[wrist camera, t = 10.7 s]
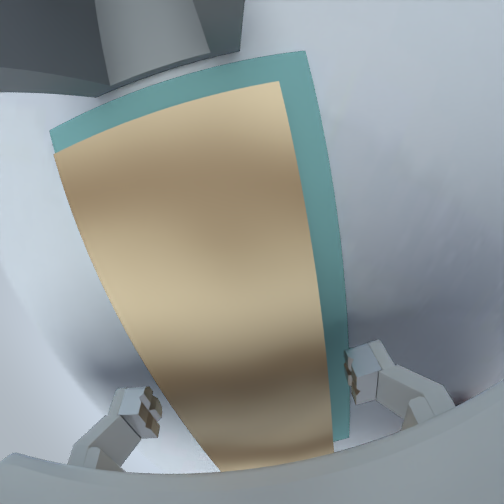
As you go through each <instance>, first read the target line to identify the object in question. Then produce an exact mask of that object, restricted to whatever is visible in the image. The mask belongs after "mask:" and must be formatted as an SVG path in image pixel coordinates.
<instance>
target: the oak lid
mask: <svg viewBox="0 0 504 504" xmlns="http://www.w3.org/2000/svg"><path fill="white" fill-rule="evenodd" d="M54 158H55V161H56V165H57V168H58V171H59V175H60V178H61V181H62V184H63V187H64V190H65V193H66V196H67V199H68V202H69V205H70V208H71V211H72V213H73V216H74V219H75V221H76V224H77V227H78V229H79V232H80V234H81V237H82V239H83V242H84V244H85V247H86V249H87V252H88V254H89V256H90V259H91V261H92V263H93V266H94V268H95V270H96V272H97V274H98V277H99V279H100V281H101V283H102V285H103V287H104V289H105V292H106V294H107V296H108V298H109V300H110V302H111V304H112V306H113V308H114V310H115V312H116V314H117V316H118V318H119V319H120V321H121V323H122V325H123V327H124V329H125V331H126V333H127V334H128V336H129V338H130V340H131V342H132V343H133V345H134V347H135V349H136V350H137V352H138V354H139V356H140V357H141V359H142V361H143V362H144V364H145V366H146V367H147V369H148V371H149V372H150V374H151V375H152V377H153V379H154V380H155V382H156V383H157V385H158V386H159V388H160V390H161V391H162V393H163V394H164V396H165V397H166V399H167V400H168V402H169V403H170V405H171V406H172V408H173V409H174V410H175V412H176V413H177V415H178V416H179V418H180V419H181V420H182V422H183V423H184V425H185V426H186V427H187V429H188V430H189V431H190V433H191V434H192V436H193V437H194V438H195V439H196V441H197V442H198V443H199V445H200V446H201V447H202V449H203V450H204V451H205V452H206V454H207V455H208V456H209V457H210V459H211V460H212V461H213V462H214V464H215V465H216V466H217V467H218V468H219V470H220V471H221V472H225V471H236V470H245V469H253V468H260V467H267V466H273V465H279V464H285V463H290V462H295V461H300V460H305V459H310V458H314V457H318V456H323V455H327V454H331V453H334V447H333V430H332V415H331V402H330V389H329V378H328V367H327V357H326V348H325V339H324V330H323V322H322V313H321V306H320V298H319V290H318V283H317V276H316V269H315V263H314V256H313V249H312V243H311V237H310V231H309V225H308V219H307V213H306V207H305V202H304V196H303V191H302V185H301V180H300V175H299V170H298V165H297V160H296V155H295V150H294V145H293V140H292V136H291V131H290V126H289V122H288V117H287V113H286V109H285V104H284V100H283V96H282V91H281V87H280V83H279V81H276V82H270V83H265V84H260V85H254V86H250V87H245V88H240V89H236V90H231V91H227V92H223V93H219V94H215V95H211V96H207V97H203V98H200V99H196V100H193V101H189V102H186V103H182V104H179V105H176V106H172V107H169V108H166V109H163V110H160V111H157V112H154V113H151V114H148V115H145V116H142V117H139V118H137V119H134V120H131V121H129V122H126V123H123V124H121V125H118V126H116V127H113V128H111V129H108V130H106V131H103V132H101V133H99V134H96V135H94V136H92V137H89V138H87V139H85V140H83V141H80V142H78V143H76V144H74V145H72V146H70V147H67V148H65V149H63V150H61V151H59V152H57V153H55V154H54Z"/></svg>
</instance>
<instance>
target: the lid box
mask: <svg viewBox="0 0 504 504" xmlns="http://www.w3.org/2000/svg"><path fill="white" fill-rule="evenodd" d="M244 2H245V0H0V92H24V93H48V94H63V95H75V96H86V97H95V98H96V97H98V96H100V95H102V94H105V93H107V92H109V91H112V90H114V89H117V88H119V87H121V86H124V85H126V84H129V83H132V82H134V81H137V80H140V79H142V78H145V77H148V76H151V75H154V74H156V73H159V72H162V71H166V70H169V69H172V68H175V67H178V66H182V65H185V64H188V63H192V62H196V61H199V60H203V59H207V58H211V57H215V56H219V55H223V54H228V53H232V52H237V51H240V42H241V31H242V21H243V12H244Z"/></svg>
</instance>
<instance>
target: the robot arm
mask: <svg viewBox="0 0 504 504" xmlns="http://www.w3.org/2000/svg"><path fill="white" fill-rule="evenodd" d="M343 357H344V359H345V363H344V371H345V376H346V380H347V383H348V385H349V386H351V391H352V396H353V398H354V401H355V404H356V405H359V404H362V403H366V402H369V401H373V400H376V401H378V402H379V403H380V404H382V405H383V406H385V407H386V408H388V409H389V410H390V411H392V412H393V413H395V414H396V415H398V416H399V417H401V418H402V419H404V422H403V425H402V428H401V431H399V432H397V433H394V434H391V435H389V436H386V437H383V438H380V439H377V440H374V441H371V442H368V443H365V444H362V445H359V446H356V447H352V448H349V449H345V450H342V451H338V452H334V453H331V454H327V455H323V456H318V457H314V458H310V459H305V460H300V461H295V462H290V463H285V464H279V465H273V466H267V467H260V468H253V469H245V470H236V471H225V472H212V473H192V474H150V473H131V472H126V471H125V470H123V469H122V468H121V466H122V464H123V463H124V462H125V460H126V459H127V458H128V456H129V455H130V454H131V452H132V451H133V450H134V448H135V447H136V446H137V444H138V443H139V442H140V440H141V438H158V434H159V428H160V425H159V424H158V421H159V420H160V419H161V417H162V406H161V404H160V401H159V400H158V398H156V397H155V396H153V395H152V394H153V391H152V390H151V388H150V387H147V386H146V387H128V388H118V389H117V390H116V392H115V395H114V398H113V401H112V404H111V407H110V410H109V413H108V415H105V416H104V417H103V418H102V419H101V420H100V421H99V422H97V423H96V424H95V425H94V426H93V427H92V428H91V429H90V430H89V431H88V432H87V433H86V434H85V435H84V436H83V437H81V438H80V439H79V440H78V441H77V442H76V443H75V444H74V446H73V449H72V452H71V455H70V458H69V461H68V464H61V463H56V462H52V461H47V460H43V459H38V458H34V457H30V456H27V455H23V454H19V453H12V454H10V455H9V456H7V457H6V458H4V459H3V460H2V461H1V462H0V504H504V379H503V380H502V381H500V382H499V383H497V384H495V385H494V386H492V387H490V388H489V389H487V390H485V391H484V392H482V393H480V394H478V395H477V396H475V397H473V398H471V399H469V400H467V401H465V402H464V403H462V404H460V405H458V406H455V404H454V402H453V401H452V399H451V397H450V396H449V394H448V393H447V391H446V389H445V388H444V386H443V385H441V384H439V383H437V382H435V381H432V380H430V379H428V378H426V377H424V376H422V375H419V374H417V373H415V372H413V371H411V370H409V369H407V368H405V367H402V366H400V365H394V363H393V361H392V359H391V358H390V356H389V354H388V353H387V351H386V349H385V347H384V346H383V344H382V342H381V341H380V340H379V339H378V340H375V341H371V342H368V343H365V344H362V345H359V346H355V347H352V348H349V349H345V350H344V352H343Z"/></svg>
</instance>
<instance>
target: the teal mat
mask: <svg viewBox="0 0 504 504" xmlns="http://www.w3.org/2000/svg"><path fill="white" fill-rule="evenodd" d="M276 81H279V83H280V87H281V91H282V96H283V100H284V104H285V109H286V113H287V117H288V122H289V126H290V131H291V136H292V140H293V145H294V150H295V155H296V160H297V165H298V170H299V175H300V180H301V185H302V191H303V196H304V202H305V207H306V213H307V219H308V225H309V231H310V237H311V243H312V249H313V256H314V263H315V269H316V276H317V283H318V290H319V298H320V306H321V313H322V322H323V330H324V339H325V348H326V357H327V367H328V378H329V389H330V402H331V415H332V430H333V442H335V441H338V440H342V439H346V438H349V420H350V386H349V385H348V383H347V380H346V376H345V371H344V363H345V359H344V357H343V352H344V350H345V349H349V342H348V322H347V306H346V293H345V280H344V269H343V259H342V250H341V241H340V232H339V224H338V217H337V209H336V202H335V195H334V188H333V182H332V176H331V170H330V164H329V158H328V152H327V147H326V141H325V136H324V131H323V126H322V121H321V116H320V111H319V107H318V102H317V97H316V93H315V89H314V84H313V80H312V76H311V72H310V68H309V64H308V60H307V56H306V52H305V51H298V52H290V53H283V54H276V55H270V56H264V57H258V58H253V59H248V60H243V61H238V62H234V63H229V64H225V65H220V66H216V67H212V68H208V69H204V70H201V71H197V72H193V73H190V74H186V75H183V76H180V77H176V78H173V79H170V80H167V81H164V82H161V83H158V84H155V85H152V86H149V87H146V88H143V89H141V90H138V91H135V92H133V93H130V94H127V95H125V96H122V97H120V98H117V99H115V100H112V101H110V102H108V103H105V104H103V105H101V106H98V107H96V108H94V109H92V110H90V111H87V112H85V113H83V114H81V115H79V116H77V117H75V118H73V119H71V120H69V121H67V122H65V123H63V124H61V125H59V126H57V127H55V128H53V129H51V130H50V135H51V139H52V143H53V147H54V151H55V153H57V152H59V151H61V150H63V149H65V148H67V147H70V146H72V145H74V144H76V143H78V142H80V141H83V140H85V139H87V138H89V137H92V136H94V135H96V134H99V133H101V132H103V131H106V130H108V129H111V128H113V127H116V126H118V125H121V124H123V123H126V122H129V121H131V120H134V119H137V118H139V117H142V116H145V115H148V114H151V113H154V112H157V111H160V110H163V109H166V108H169V107H172V106H176V105H179V104H182V103H186V102H189V101H193V100H196V99H200V98H203V97H207V96H211V95H215V94H219V93H223V92H227V91H231V90H236V89H240V88H245V87H250V86H254V85H260V84H265V83H270V82H276Z"/></svg>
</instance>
